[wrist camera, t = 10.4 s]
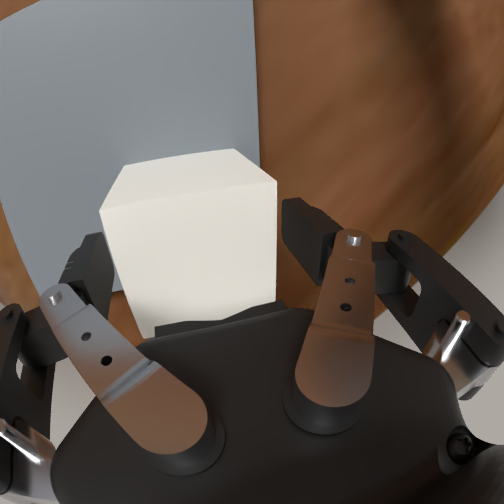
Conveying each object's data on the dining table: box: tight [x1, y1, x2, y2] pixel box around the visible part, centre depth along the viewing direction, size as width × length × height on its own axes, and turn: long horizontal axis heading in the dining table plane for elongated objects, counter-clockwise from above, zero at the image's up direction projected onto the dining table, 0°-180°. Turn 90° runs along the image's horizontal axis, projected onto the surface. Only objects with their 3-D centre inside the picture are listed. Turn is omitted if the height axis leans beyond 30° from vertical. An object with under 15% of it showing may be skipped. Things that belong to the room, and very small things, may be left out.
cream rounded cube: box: [99, 149, 277, 339], centre depth 12 cm, size 6×6×6 cm
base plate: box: [0, 0, 260, 296], centre depth 12 cm, size 15×18×2 cm
